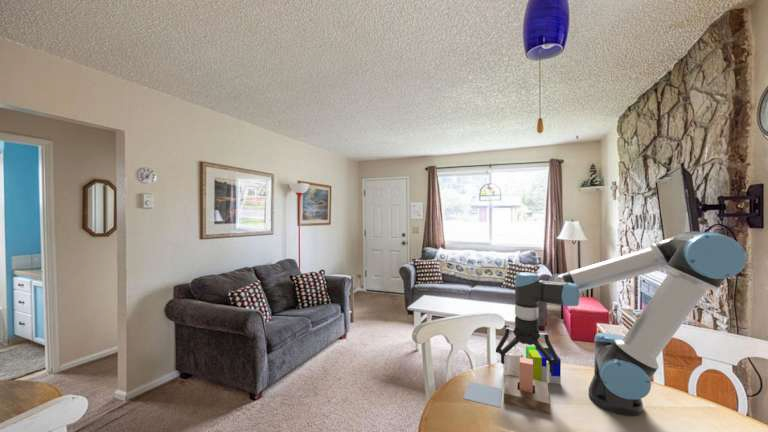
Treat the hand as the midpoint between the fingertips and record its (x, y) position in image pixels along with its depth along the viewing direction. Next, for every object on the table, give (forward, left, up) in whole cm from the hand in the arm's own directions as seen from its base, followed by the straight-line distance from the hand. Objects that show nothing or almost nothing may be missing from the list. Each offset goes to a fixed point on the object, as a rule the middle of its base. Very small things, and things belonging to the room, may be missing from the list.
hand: (526, 377), depth 109 cm
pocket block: (0, 0, -8) cm, 8 cm away
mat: (+14, +4, -8) cm, 16 cm away
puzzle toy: (-6, -19, -8) cm, 21 cm away
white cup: (+5, -15, -8) cm, 18 cm away
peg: (0, 0, -7) cm, 7 cm away
